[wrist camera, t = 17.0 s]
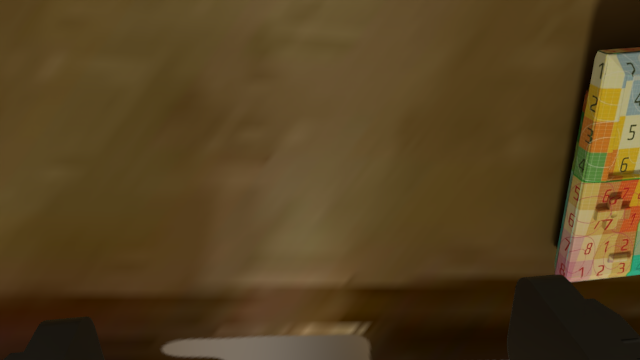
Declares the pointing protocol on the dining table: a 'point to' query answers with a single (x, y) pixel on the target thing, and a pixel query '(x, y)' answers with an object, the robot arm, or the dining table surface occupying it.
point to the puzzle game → (605, 176)
